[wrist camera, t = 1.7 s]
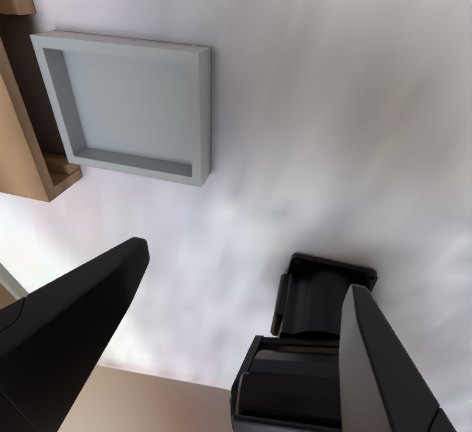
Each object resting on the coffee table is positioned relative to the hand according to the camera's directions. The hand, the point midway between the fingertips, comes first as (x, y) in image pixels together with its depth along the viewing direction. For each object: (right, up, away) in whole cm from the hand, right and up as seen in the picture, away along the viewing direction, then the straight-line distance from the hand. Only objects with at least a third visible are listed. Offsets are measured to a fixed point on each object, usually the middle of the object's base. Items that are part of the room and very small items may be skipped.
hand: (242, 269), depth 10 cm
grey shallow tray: (-7, +9, +11) cm, 16 cm away
